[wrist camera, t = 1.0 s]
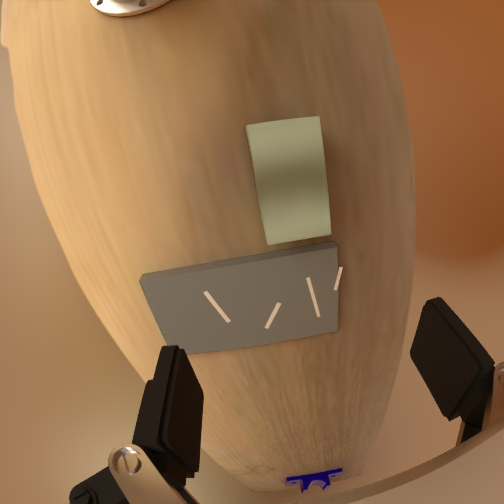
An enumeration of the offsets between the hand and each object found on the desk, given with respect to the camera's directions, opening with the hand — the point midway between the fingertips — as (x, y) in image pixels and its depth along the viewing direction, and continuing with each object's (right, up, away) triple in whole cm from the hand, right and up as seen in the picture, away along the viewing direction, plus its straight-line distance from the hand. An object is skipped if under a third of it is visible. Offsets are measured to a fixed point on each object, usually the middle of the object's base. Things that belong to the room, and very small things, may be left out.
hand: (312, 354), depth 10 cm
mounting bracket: (+18, -69, +57) cm, 91 cm away
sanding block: (0, +12, +17) cm, 21 cm away
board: (-3, -2, +23) cm, 24 cm away
